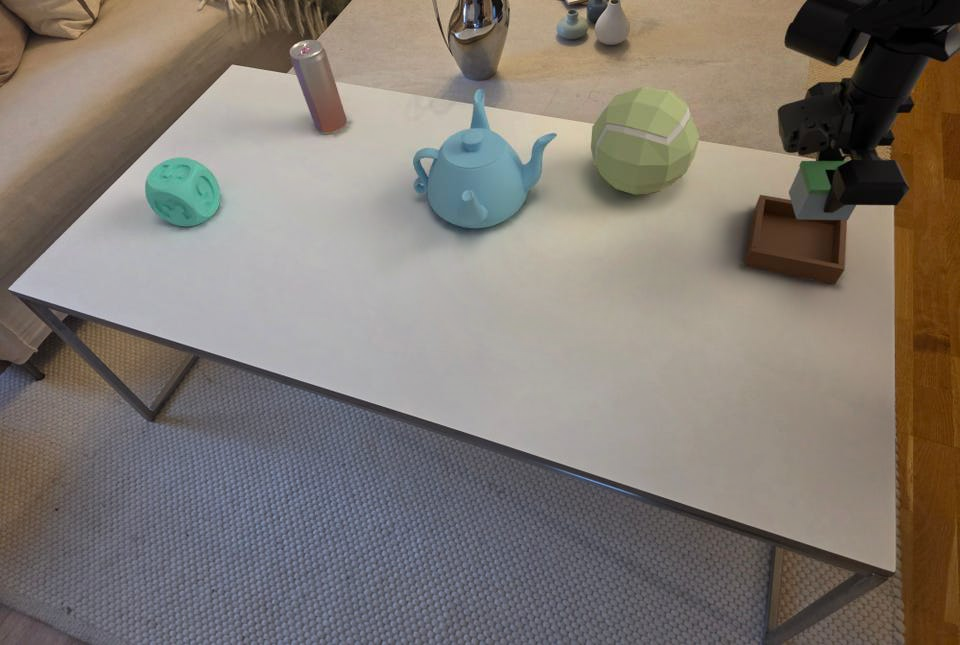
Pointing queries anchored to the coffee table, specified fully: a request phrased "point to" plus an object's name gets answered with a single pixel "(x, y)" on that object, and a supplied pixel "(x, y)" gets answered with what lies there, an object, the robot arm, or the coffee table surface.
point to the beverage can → (318, 86)
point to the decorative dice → (182, 191)
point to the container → (815, 192)
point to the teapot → (478, 174)
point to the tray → (795, 242)
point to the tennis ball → (644, 140)
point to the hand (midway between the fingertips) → (822, 196)
